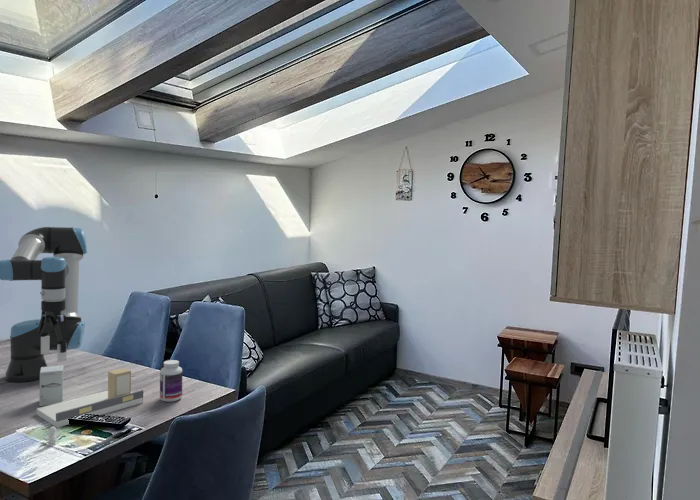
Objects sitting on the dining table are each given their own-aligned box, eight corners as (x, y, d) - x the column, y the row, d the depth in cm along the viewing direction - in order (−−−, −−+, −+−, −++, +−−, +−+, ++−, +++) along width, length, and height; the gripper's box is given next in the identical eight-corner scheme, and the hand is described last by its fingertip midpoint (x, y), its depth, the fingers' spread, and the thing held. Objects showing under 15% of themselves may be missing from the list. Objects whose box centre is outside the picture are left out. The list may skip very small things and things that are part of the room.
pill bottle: (186, 397, 193) (187, 360, 192) (172, 404, 185) (173, 366, 184) (169, 393, 195) (169, 357, 194) (154, 400, 188) (155, 363, 187)
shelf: (36, 414, 171) (36, 401, 171) (121, 392, 195) (121, 380, 195) (57, 427, 162) (57, 414, 161) (143, 402, 185) (143, 390, 185)
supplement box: (38, 407, 178) (38, 372, 177) (40, 399, 184) (40, 366, 183) (62, 404, 181) (62, 370, 180) (63, 397, 188) (63, 364, 187)
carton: (107, 397, 183) (108, 371, 183) (123, 393, 188) (124, 367, 187) (115, 401, 180) (115, 374, 180) (130, 397, 185) (131, 370, 184)
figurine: (30, 448, 148) (30, 428, 148) (53, 438, 155) (53, 419, 155) (49, 454, 145) (49, 434, 145) (72, 443, 152) (72, 424, 152)
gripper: (27, 296, 185) (27, 352, 186) (58, 305, 170) (58, 366, 171) (49, 294, 191) (49, 348, 192) (80, 303, 176) (80, 362, 177)
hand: (53, 357), depth 182 cm, fingers open, 13 cm apart
